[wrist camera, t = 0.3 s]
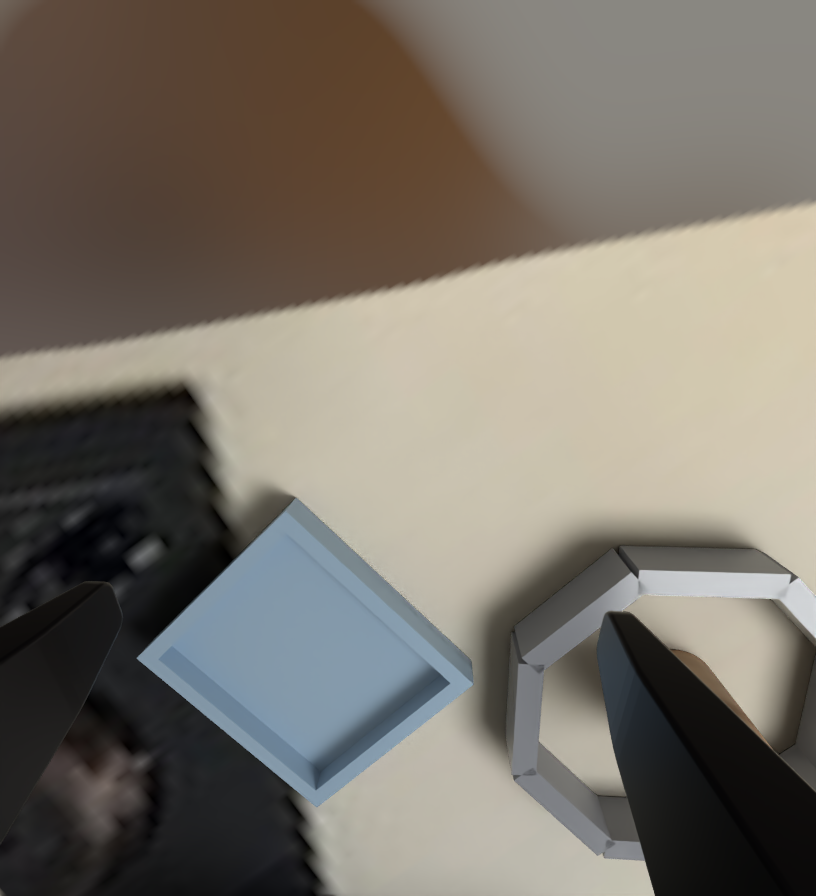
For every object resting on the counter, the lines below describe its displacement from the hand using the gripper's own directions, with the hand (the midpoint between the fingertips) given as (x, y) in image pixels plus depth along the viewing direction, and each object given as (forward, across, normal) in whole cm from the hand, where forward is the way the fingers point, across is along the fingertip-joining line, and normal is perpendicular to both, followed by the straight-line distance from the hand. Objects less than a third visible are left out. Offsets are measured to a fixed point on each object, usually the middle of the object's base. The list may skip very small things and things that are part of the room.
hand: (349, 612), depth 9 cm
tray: (+12, +5, +15) cm, 20 cm away
